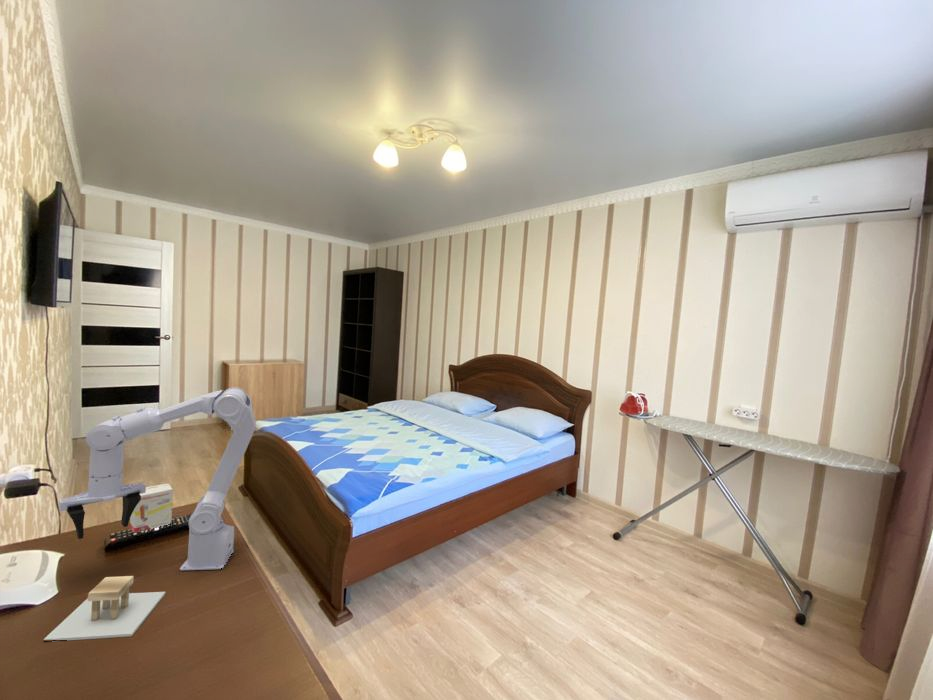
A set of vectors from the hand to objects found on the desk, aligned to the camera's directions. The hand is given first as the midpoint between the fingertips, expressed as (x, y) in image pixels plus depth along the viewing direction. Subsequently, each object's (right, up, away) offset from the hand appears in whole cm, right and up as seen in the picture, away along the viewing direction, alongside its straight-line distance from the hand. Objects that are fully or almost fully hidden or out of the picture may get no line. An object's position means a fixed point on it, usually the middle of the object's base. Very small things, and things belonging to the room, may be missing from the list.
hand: (103, 530), depth 90 cm
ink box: (-5, -9, +20) cm, 23 cm away
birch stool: (+12, -12, -11) cm, 20 cm away
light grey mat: (+12, -12, -11) cm, 20 cm away
